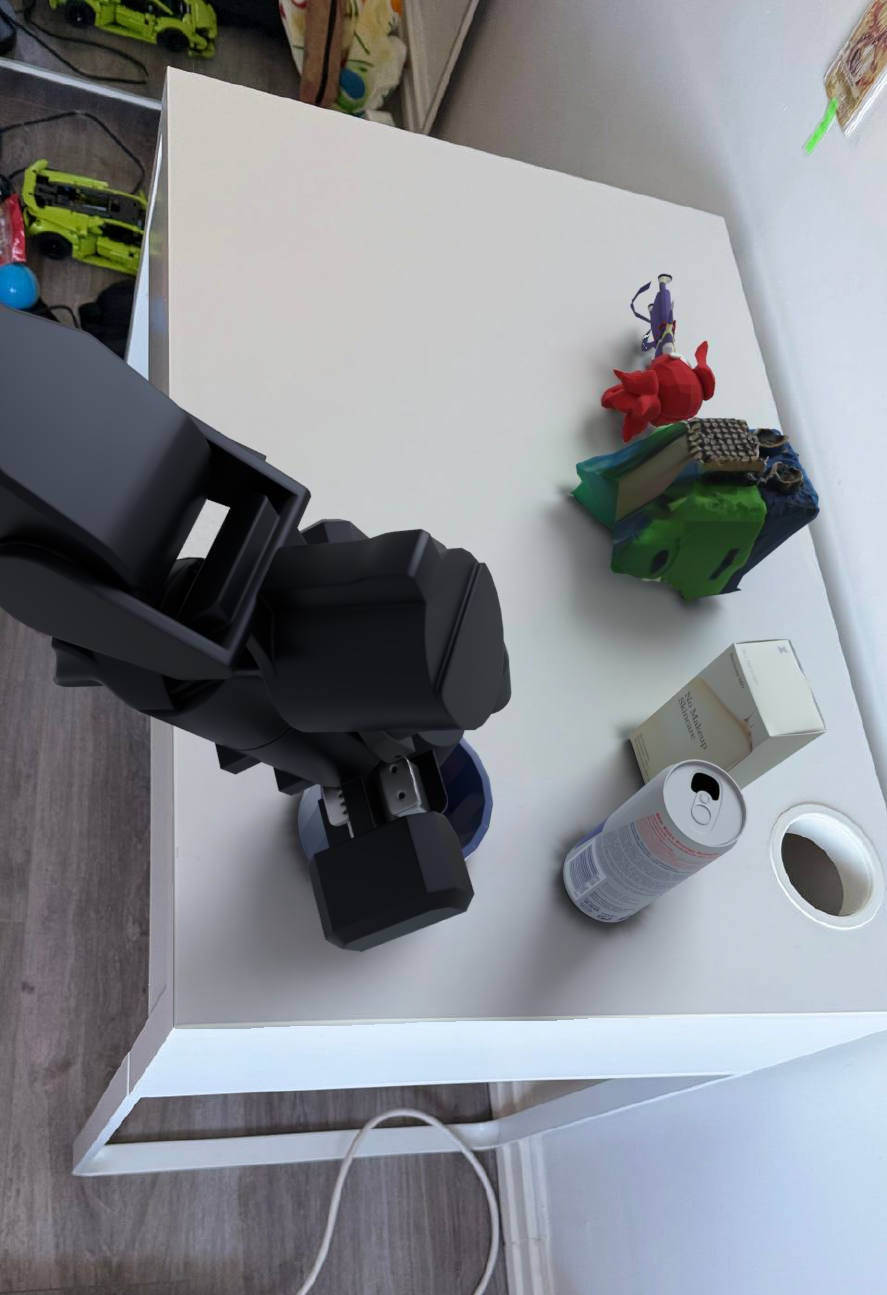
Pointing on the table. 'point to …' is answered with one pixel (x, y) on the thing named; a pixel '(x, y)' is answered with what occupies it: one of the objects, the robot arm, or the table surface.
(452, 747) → the scrub stick
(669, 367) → the figurine
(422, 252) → the table surface
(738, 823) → the energy drink
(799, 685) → the cosmetic box
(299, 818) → the blue plastic pot
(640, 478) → the sculpture
